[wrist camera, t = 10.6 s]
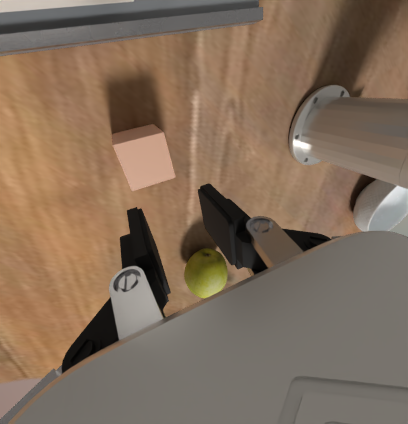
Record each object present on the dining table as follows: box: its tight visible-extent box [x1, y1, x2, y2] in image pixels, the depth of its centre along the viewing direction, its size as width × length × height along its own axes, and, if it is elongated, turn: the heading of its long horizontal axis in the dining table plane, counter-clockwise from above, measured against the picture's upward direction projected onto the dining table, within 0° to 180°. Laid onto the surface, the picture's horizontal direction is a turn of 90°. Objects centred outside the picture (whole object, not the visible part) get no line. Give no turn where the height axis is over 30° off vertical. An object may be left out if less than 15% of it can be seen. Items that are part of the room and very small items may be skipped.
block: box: [112, 124, 175, 191], centre depth 23 cm, size 5×5×6 cm
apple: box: [184, 248, 227, 298], centre depth 36 cm, size 8×9×8 cm
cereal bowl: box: [353, 179, 408, 232], centre depth 50 cm, size 17×17×7 cm
